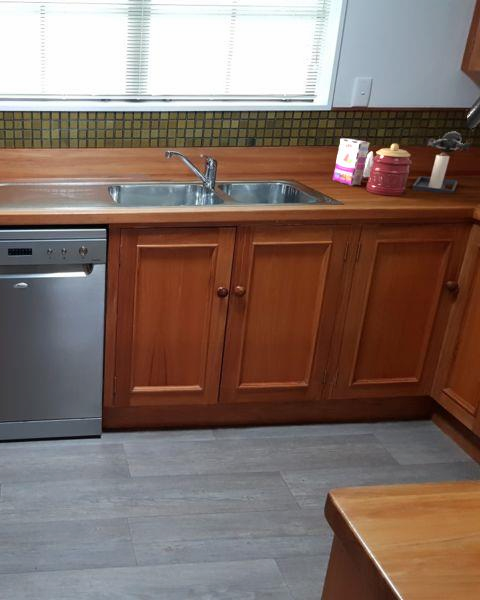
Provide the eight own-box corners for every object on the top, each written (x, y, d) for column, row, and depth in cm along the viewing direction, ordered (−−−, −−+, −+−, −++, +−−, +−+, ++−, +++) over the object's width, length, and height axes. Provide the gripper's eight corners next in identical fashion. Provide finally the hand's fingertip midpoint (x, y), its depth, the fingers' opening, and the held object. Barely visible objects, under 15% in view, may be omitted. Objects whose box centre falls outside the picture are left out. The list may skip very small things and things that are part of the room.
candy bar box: (361, 185, 234) (371, 142, 228) (351, 186, 233) (360, 142, 226) (342, 179, 244) (350, 137, 237) (331, 180, 242) (339, 138, 236)
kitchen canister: (368, 186, 233) (378, 139, 226) (405, 191, 227) (416, 143, 220) (363, 193, 222) (373, 143, 216) (402, 198, 216) (414, 147, 210)
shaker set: (361, 180, 242) (367, 152, 238) (353, 178, 246) (359, 151, 242) (385, 179, 246) (391, 152, 242) (377, 177, 250) (383, 150, 245)
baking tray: (456, 185, 239) (458, 181, 239) (452, 195, 223) (453, 190, 222) (418, 180, 246) (419, 176, 245) (411, 190, 229) (412, 185, 229)
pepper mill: (441, 186, 235) (450, 152, 230) (440, 188, 231) (449, 153, 226) (429, 185, 237) (437, 151, 232) (427, 187, 234) (436, 152, 228)
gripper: (433, 130, 253) (429, 134, 240) (472, 134, 246) (470, 139, 233) (428, 148, 256) (424, 154, 243) (467, 153, 249) (465, 158, 236)
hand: (446, 146), depth 238 cm, fingers open, 8 cm apart
